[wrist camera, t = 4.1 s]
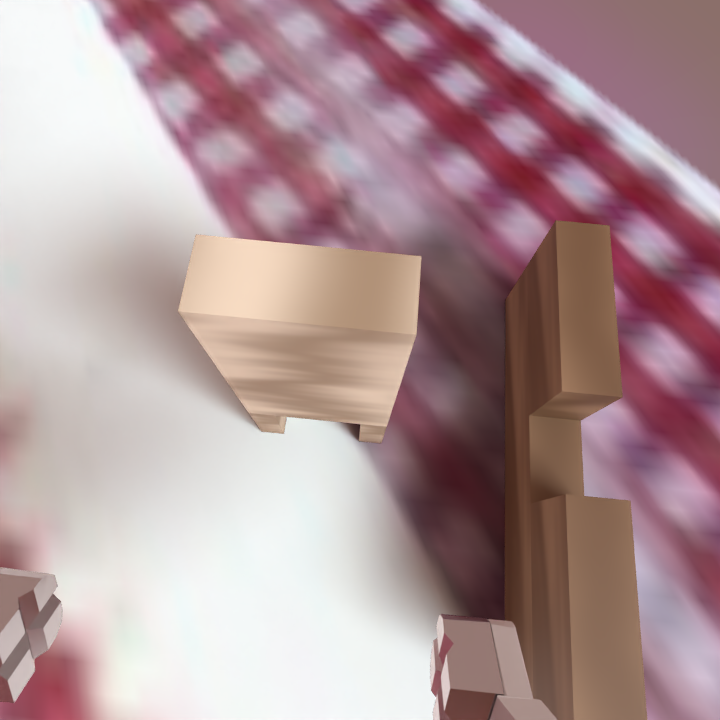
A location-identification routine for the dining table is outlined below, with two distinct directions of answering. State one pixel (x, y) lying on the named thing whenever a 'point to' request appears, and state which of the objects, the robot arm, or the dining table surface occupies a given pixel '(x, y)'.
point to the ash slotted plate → (304, 327)
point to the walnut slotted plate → (567, 486)
